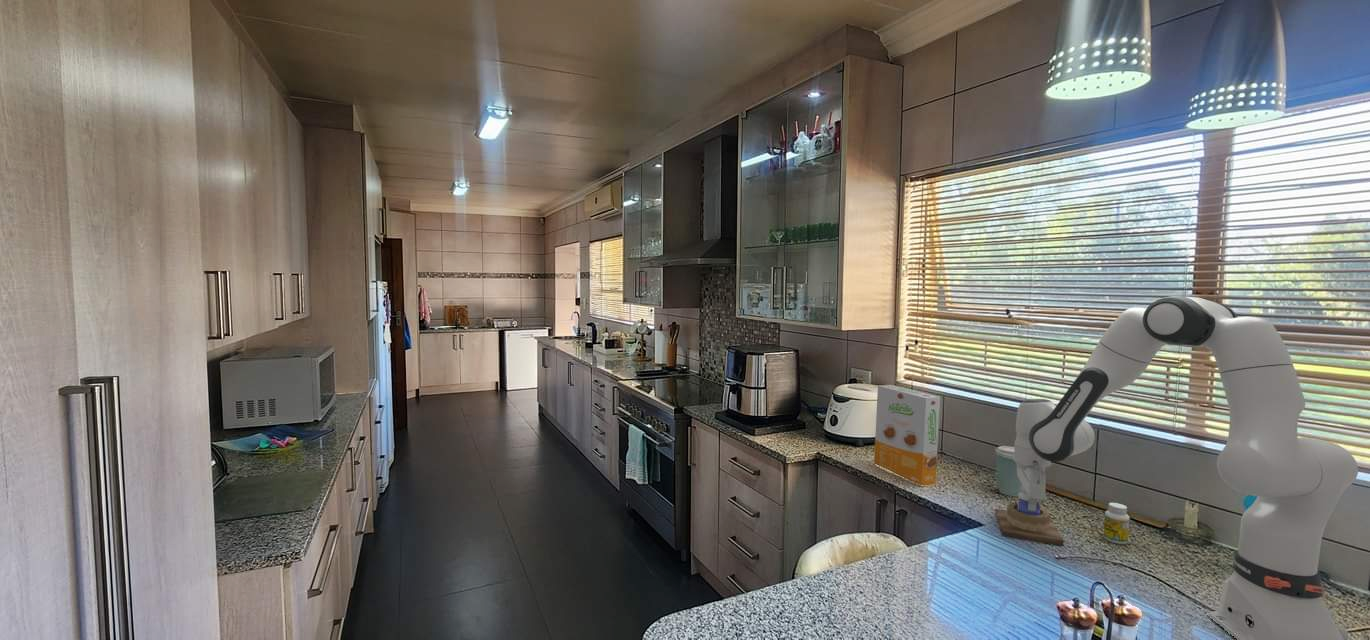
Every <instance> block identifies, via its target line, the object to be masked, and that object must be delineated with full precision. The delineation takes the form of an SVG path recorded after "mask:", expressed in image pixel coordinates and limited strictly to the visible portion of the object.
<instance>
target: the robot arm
mask: <svg viewBox="0 0 1370 640" xmlns="http://www.w3.org/2000/svg"><path fill="white" fill-rule="evenodd" d="M1168 344H1169V345H1175V346H1176V345H1177V346H1182V347H1186V348H1205V349H1207V350H1208V351H1210V353H1211V354H1212V355H1213V357H1214V360H1215V362H1216V365H1217V369H1218V374H1219V376H1220V377H1219V378H1220V380H1221V383H1222V387H1223V391H1224V395H1225V397H1226V401H1227V406H1228V412H1229V425H1228V426H1229V427H1228V435H1227V441H1226V444H1225V446H1224V448H1222V450H1221V451H1220V453H1219V454H1218V456H1217V459H1216V468H1217V472H1218V475H1219V477H1220V478H1221V479H1222V481H1223V482H1224V483H1225V484H1226V485H1227V486H1228V487H1230V488H1231V489H1232V490H1234V491H1235V492H1238V493H1240V494H1243V495H1249V496H1253V497H1256V499H1255V500H1254V501H1253V503H1252V504H1251V506H1249V507H1248V508H1247V509H1246V510H1245V511H1244V512H1243V514H1242V516H1241V519H1240V528H1239V537H1238V538H1239V539H1238V548H1237V550H1235V551H1234V556H1233V559H1232V562H1233V567H1232V568H1233V570H1234V571H1233V573H1232V574H1231V575H1230V576H1229V577H1228V578H1226V579H1225V580H1224V581H1223V584H1222V588H1221V593H1220V598H1219V602H1218V607H1217V610H1214V611H1210V612H1209V616H1210V617H1211V618H1212V619H1214V620H1215V621H1216V622H1217V623H1219V624H1220V625H1221V626H1222V627H1223V628H1224V629H1226V630H1227V631H1228V632H1229V633H1230V634H1231V635H1233V636H1234V637H1235V638H1236V639H1237V640H1349V632H1348V630H1347V629H1346V628H1345V627H1342V626H1339V625H1337V623H1336V622H1335V620H1334V613H1333V611H1331V610H1329V609H1328V607H1327V605H1326V604H1325V601H1324V600H1323V599H1324V598H1323V595H1324V592H1323V590H1324V589H1325V588H1324V587H1323V581H1322V579H1321V573H1320V572H1319V570H1318V568H1319V561H1320V554H1321V546H1322V539H1323V536H1324V535H1323V534H1324V531H1325V528H1326V526H1327V524H1328V521H1329V519H1330V517H1331V516H1332V515H1331V514H1332V513H1333V511H1334V509H1335V506H1336V505H1337V503H1338V501H1339V499H1340V497H1341V496H1342V494H1343V493H1344V492H1345V490H1346V489H1348V487H1350V485H1352V484H1353V483H1354V482H1355V481H1356V479H1357V477H1358V474H1359V466H1358V463H1357V461H1356V458H1355V457H1354V455H1352V454H1351V453H1350V451H1348V450H1347V449H1346V448H1345V447H1343V446H1341V445H1339V444H1337V443H1334V442H1331V441H1327V440H1324V439H1320V438H1312V437H1298V424H1299V418H1300V416H1301V413H1302V412H1303V411H1304V410H1305V407H1306V398H1305V396H1304V394H1303V393H1304V392H1303V390H1302V387H1301V384H1300V381H1299V377H1298V375H1297V372H1296V370H1295V366H1294V364H1293V363H1294V362H1293V361H1292V357H1291V355H1290V353H1289V351H1288V348H1287V346H1286V344H1285V342H1284V341H1283V338H1282V336H1281V335H1280V333H1279V332H1278V330H1277V329H1276V327H1275V326H1274V325H1273V323H1272V322H1270V321H1269V320H1267V319H1265V318H1263V317H1259V316H1244V315H1243V316H1238V315H1237V313H1236V312H1235V311H1234V310H1233V309H1232V308H1230V307H1229V306H1227V305H1226V304H1223V303H1221V302H1218V301H1214V300H1213V301H1212V300H1209V299H1208V300H1207V299H1206V298H1205V299H1204V298H1201V297H1197V296H1182V295H1169V296H1165V297H1161V298H1159V299H1156V300H1155V301H1153V302H1151V303H1150V304H1149V305H1148V306H1147V308H1146V307H1145V308H1144V307H1131V308H1127V309H1126V310H1123V311H1122V312H1121V314H1119V316H1117V318H1116V319H1115V320H1114V321H1113V322H1112V323H1111V324H1110V326H1109V327H1108V328H1107V329H1106V330H1105V332H1104V333H1103V334H1102V336H1101V338H1100V340H1099V341H1098V343H1097V344H1096V346H1095V347H1094V349H1093V351H1092V353H1091V354H1090V356H1089V357H1088V359H1087V361H1086V363H1085V365H1084V366H1083V368H1082V369H1081V371H1080V372H1079V373H1078V375H1077V377H1076V379H1075V380H1074V381H1073V383H1072V384H1071V385H1070V386H1069V388H1068V389H1067V390H1066V392H1065V393H1064V394H1063V396H1062V398H1060V400H1059V402H1058V403H1057V405H1056V404H1055V403H1054V402H1053V401H1051V400H1049V399H1047V398H1032V399H1031V398H1030V399H1026V400H1023V401H1022V402H1020V404H1019V405H1018V409H1017V413H1016V420H1015V432H1016V438H1015V440H1014V446H1013V447H1014V461H1015V462H1016V464H1017V476H1018V478H1019V480H1020V482H1021V484H1022V485H1023V487H1024V490H1025V492H1026V493H1027V495H1028V498H1029V499H1028V506H1027V507H1028V509H1029V510H1030V511H1035V510H1036V504H1037V502H1038V501H1040V502H1044V501H1045V499H1046V488H1047V487H1046V482H1047V481H1046V479H1047V478H1046V468H1050V467H1051V466H1052V463H1054V462H1055V463H1056V462H1057V463H1058V462H1062V461H1063V460H1066V459H1068V458H1069V457H1072V456H1076V455H1078V454H1081V453H1084V452H1086V451H1087V450H1088V451H1089V449H1091V448H1092V447H1093V445H1094V444H1095V441H1096V433H1095V431H1094V428H1093V426H1092V425H1091V424H1090V423H1089V422H1088V421H1087V420H1085V419H1086V418H1087V416H1088V415H1089V413H1090V412H1091V410H1092V409H1093V408H1094V407H1095V406H1096V405H1097V404H1098V402H1100V401H1101V400H1102V399H1104V398H1105V397H1107V396H1109V395H1110V394H1111V395H1112V393H1114V392H1117V391H1119V390H1121V389H1123V388H1125V387H1128V386H1129V385H1132V384H1133V383H1134V382H1135V381H1136V380H1138V378H1139V377H1140V376H1141V375H1142V374H1143V373H1144V372H1145V371H1146V369H1147V368H1148V366H1149V365H1150V364H1151V362H1152V361H1153V360H1154V358H1155V356H1156V355H1157V353H1158V352H1159V350H1161V349H1162V348H1163V347H1164V346H1166V345H1168ZM1209 616H1208V617H1209ZM1230 634H1229V635H1230ZM1231 635H1230V636H1231ZM1236 639H1235V640H1236Z"/></svg>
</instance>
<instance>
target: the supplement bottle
mask: <svg viewBox="0 0 1370 640" xmlns="http://www.w3.org/2000/svg"><path fill="white" fill-rule="evenodd" d="M1107 505H1108V506H1107V508H1108V510H1105V512H1104V517H1103V518H1104V521H1103V522H1104V523H1103V535H1102V536H1103V538H1104V539H1105V540H1106V541H1107V542H1110V543H1112V544H1113V543H1114V544H1118V545H1127V544H1128V543H1129V534H1130V533H1129V532H1130V519H1131V518H1130V516H1129V515H1128V507H1127V505H1124V504H1122V503H1118V502H1109V503H1108V504H1107Z"/></svg>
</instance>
